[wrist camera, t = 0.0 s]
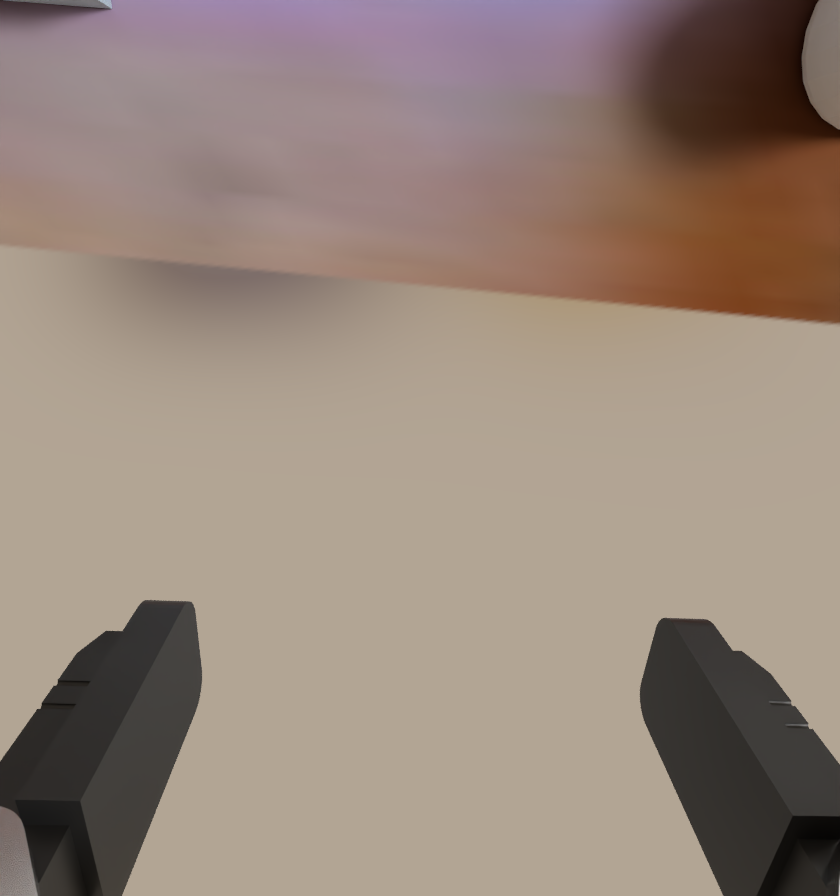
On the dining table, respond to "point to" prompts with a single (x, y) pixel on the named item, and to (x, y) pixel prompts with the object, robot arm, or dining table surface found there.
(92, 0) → the block
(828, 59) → the mug
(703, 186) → the dining table surface
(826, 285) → the dining table surface
